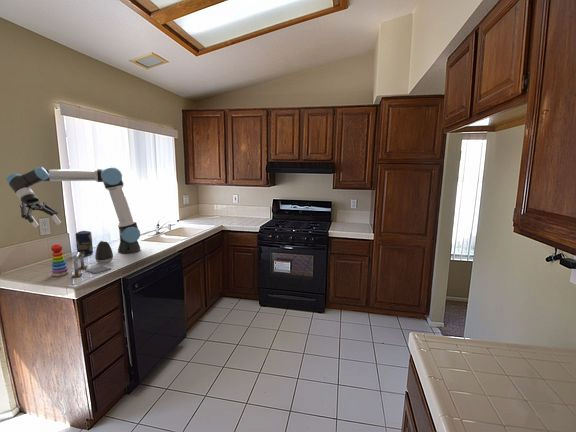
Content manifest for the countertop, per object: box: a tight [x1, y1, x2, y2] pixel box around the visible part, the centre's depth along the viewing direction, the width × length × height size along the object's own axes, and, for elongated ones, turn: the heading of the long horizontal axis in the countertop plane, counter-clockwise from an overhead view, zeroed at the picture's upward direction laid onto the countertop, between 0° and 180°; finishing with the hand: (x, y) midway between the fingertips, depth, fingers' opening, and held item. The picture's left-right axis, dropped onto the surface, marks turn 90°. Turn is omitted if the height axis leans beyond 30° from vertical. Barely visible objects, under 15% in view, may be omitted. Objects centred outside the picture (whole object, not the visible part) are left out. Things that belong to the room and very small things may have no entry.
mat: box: [84, 265, 112, 275], centre depth 182 cm, size 10×10×1 cm
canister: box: [75, 230, 94, 257], centre depth 212 cm, size 10×10×18 cm
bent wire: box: [71, 251, 88, 279], centre depth 177 cm, size 4×18×13 cm, turn 24°
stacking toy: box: [51, 243, 70, 278], centre depth 172 cm, size 8×8×19 cm
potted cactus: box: [95, 240, 114, 265], centre depth 196 cm, size 10×10×15 cm
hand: (48, 225), depth 173 cm, fingers open, 13 cm apart
